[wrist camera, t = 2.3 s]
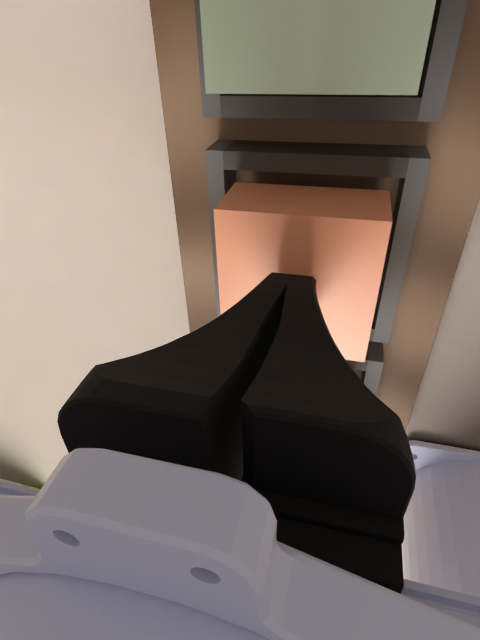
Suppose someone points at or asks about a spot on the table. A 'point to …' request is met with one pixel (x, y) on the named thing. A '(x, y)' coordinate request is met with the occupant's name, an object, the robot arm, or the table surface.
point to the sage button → (315, 46)
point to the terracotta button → (307, 249)
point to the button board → (336, 174)
